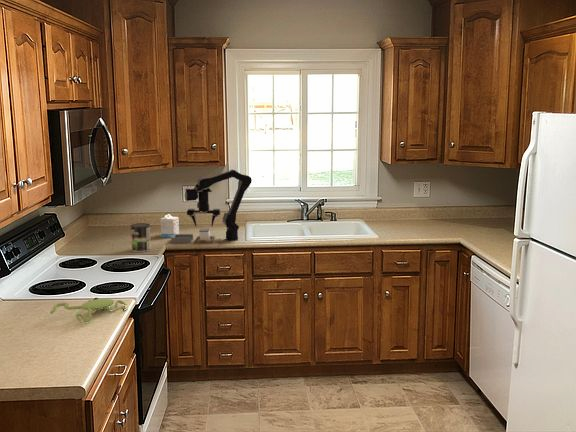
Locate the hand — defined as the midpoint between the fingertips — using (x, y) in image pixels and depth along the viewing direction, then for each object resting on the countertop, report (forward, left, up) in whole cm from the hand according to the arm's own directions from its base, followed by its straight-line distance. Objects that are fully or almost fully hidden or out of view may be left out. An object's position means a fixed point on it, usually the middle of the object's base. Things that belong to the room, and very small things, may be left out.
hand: (204, 226), depth 356 cm
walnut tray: (0, 0, -9) cm, 9 cm away
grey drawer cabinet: (+13, 0, -9) cm, 16 cm away
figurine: (+30, +121, -10) cm, 126 cm away
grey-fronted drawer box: (0, 0, -8) cm, 8 cm away
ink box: (+22, -14, -9) cm, 28 cm away
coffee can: (+32, +19, -9) cm, 39 cm away
